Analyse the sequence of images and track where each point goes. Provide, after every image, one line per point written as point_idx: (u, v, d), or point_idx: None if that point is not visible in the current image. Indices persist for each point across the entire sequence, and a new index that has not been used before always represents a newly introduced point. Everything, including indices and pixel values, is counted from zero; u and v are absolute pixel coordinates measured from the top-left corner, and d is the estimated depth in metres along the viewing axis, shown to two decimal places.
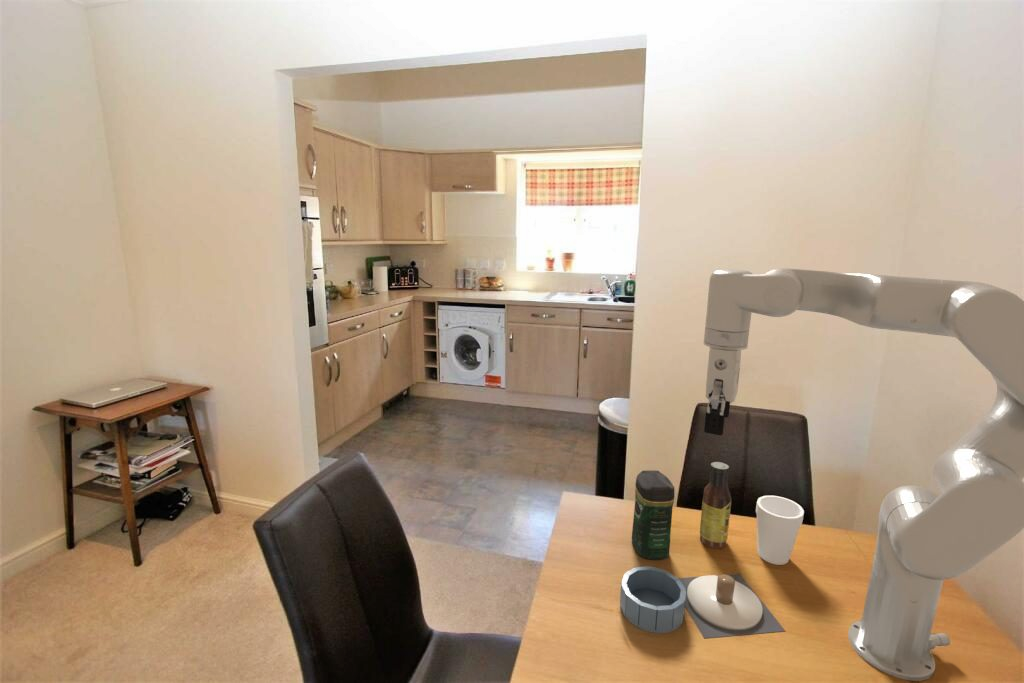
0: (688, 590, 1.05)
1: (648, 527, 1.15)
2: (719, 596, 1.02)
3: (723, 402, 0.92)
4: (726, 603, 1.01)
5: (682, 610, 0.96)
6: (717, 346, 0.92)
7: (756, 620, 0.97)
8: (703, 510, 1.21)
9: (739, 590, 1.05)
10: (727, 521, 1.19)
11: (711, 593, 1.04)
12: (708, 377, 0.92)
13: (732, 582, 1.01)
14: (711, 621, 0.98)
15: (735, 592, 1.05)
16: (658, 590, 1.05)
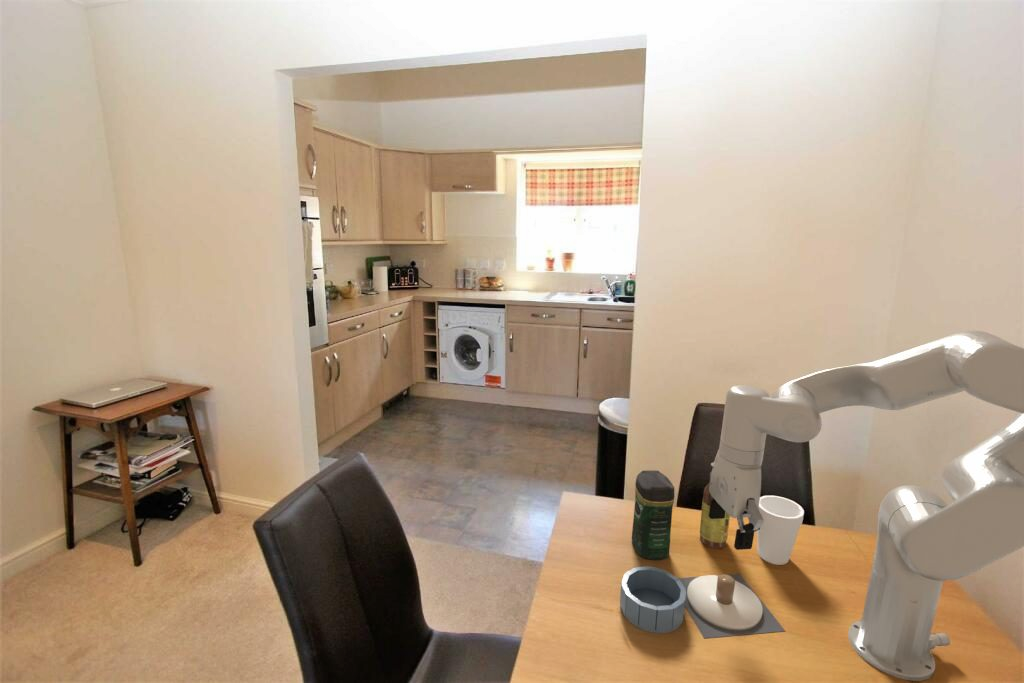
0: (688, 590, 1.05)
1: (648, 527, 1.15)
2: (719, 596, 1.02)
3: None
4: (726, 603, 1.01)
5: (682, 610, 0.96)
6: None
7: (756, 620, 0.97)
8: (703, 510, 1.21)
9: (739, 590, 1.05)
10: (727, 521, 1.19)
11: (711, 592, 1.04)
12: None
13: (732, 582, 1.01)
14: (711, 621, 0.98)
15: (735, 592, 1.05)
16: (658, 590, 1.05)
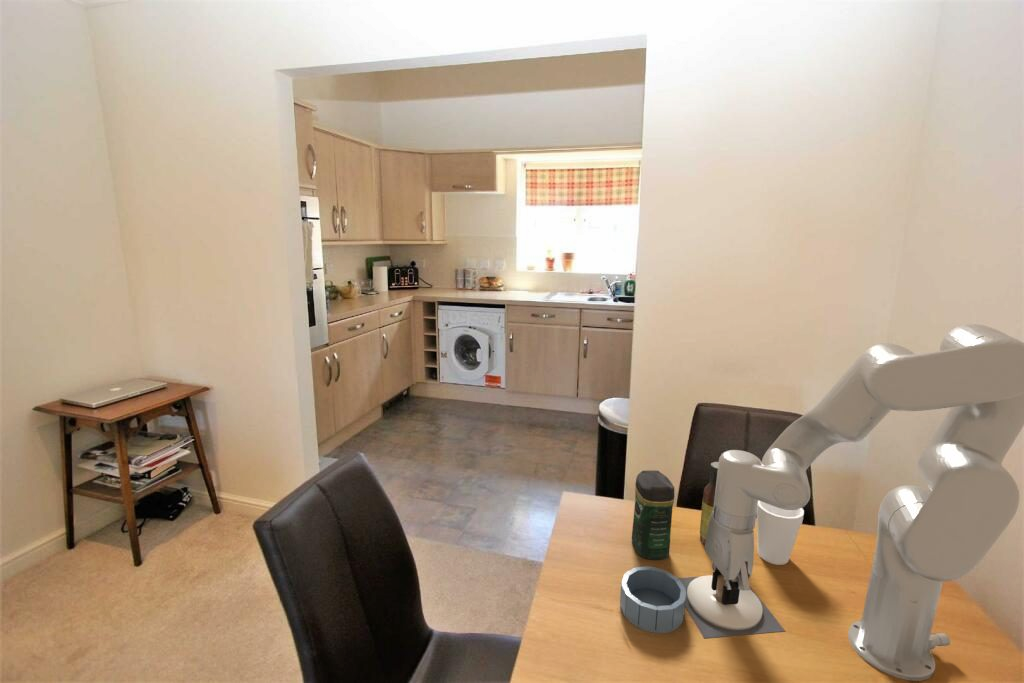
0: (688, 590, 1.05)
1: (648, 527, 1.15)
2: (719, 596, 1.02)
3: None
4: None
5: (682, 610, 0.96)
6: None
7: (756, 620, 0.97)
8: (703, 510, 1.21)
9: None
10: None
11: (711, 592, 1.04)
12: None
13: None
14: (711, 621, 0.97)
15: None
16: (658, 590, 1.05)
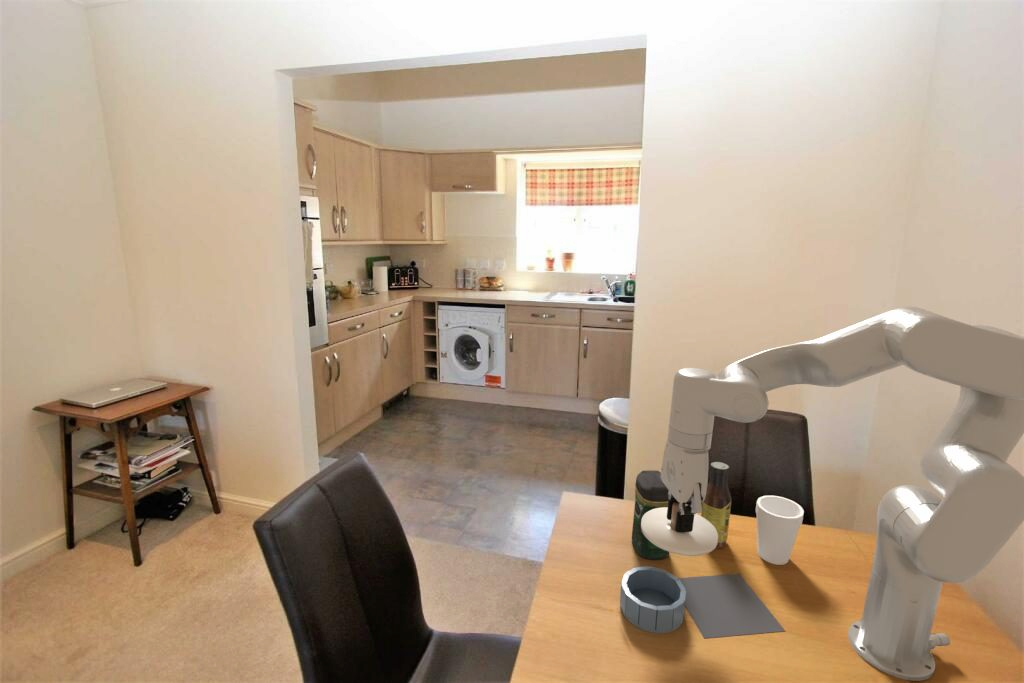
0: (642, 519, 1.00)
1: None
2: (673, 524, 0.97)
3: None
4: None
5: (682, 610, 0.96)
6: None
7: (710, 546, 0.92)
8: (703, 510, 1.21)
9: (696, 520, 1.00)
10: (727, 521, 1.19)
11: (666, 522, 0.99)
12: None
13: None
14: (662, 546, 0.93)
15: None
16: (658, 590, 1.05)
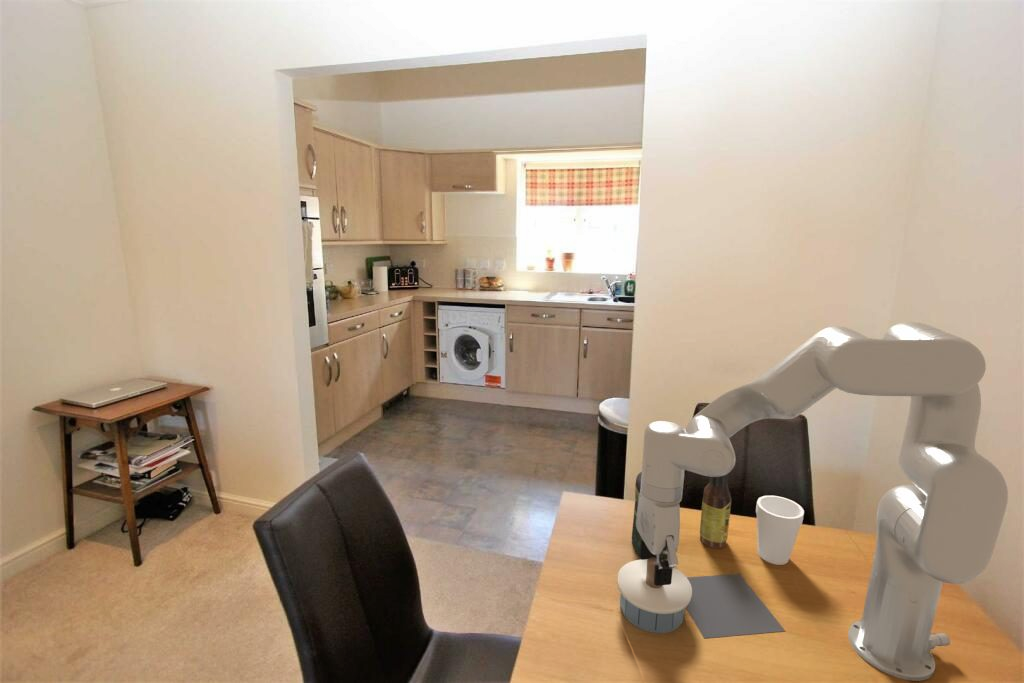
0: (619, 574, 1.02)
1: None
2: (648, 579, 0.99)
3: None
4: (655, 586, 0.98)
5: (682, 610, 0.96)
6: None
7: (683, 603, 0.94)
8: (703, 510, 1.21)
9: None
10: (727, 521, 1.19)
11: (642, 576, 1.01)
12: None
13: None
14: (637, 604, 0.95)
15: None
16: None
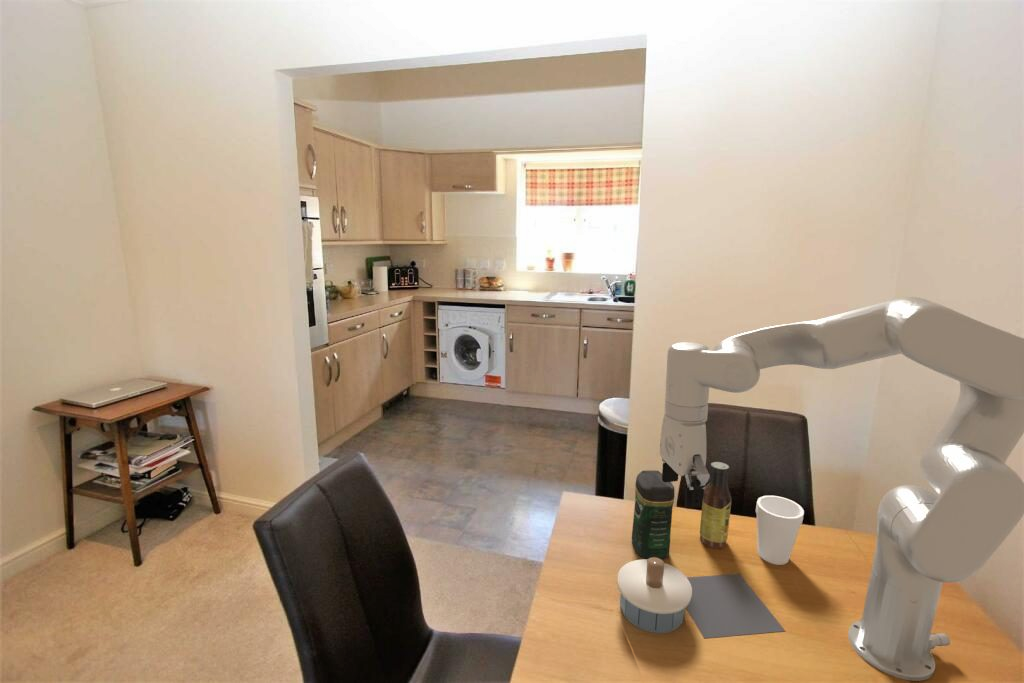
0: (619, 574, 1.02)
1: (648, 527, 1.15)
2: (648, 579, 0.99)
3: None
4: (655, 586, 0.98)
5: (682, 610, 0.96)
6: None
7: (683, 603, 0.94)
8: (703, 510, 1.21)
9: (671, 574, 1.02)
10: (727, 521, 1.19)
11: (642, 576, 1.01)
12: None
13: (661, 565, 0.98)
14: (637, 604, 0.95)
15: (666, 575, 1.02)
16: None
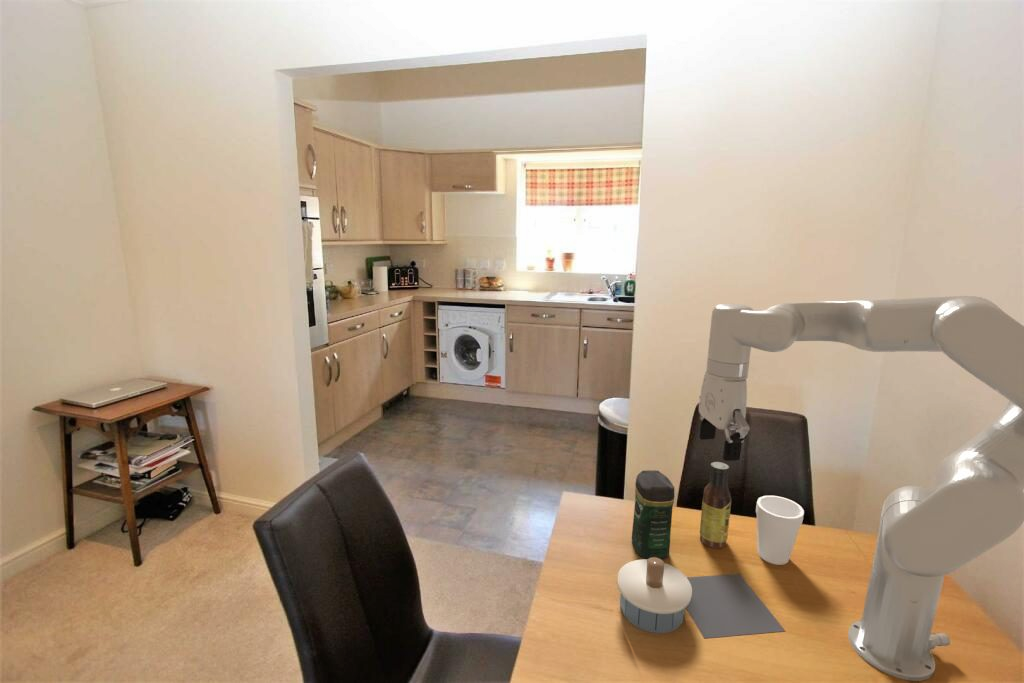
0: (619, 574, 1.02)
1: (648, 527, 1.15)
2: (648, 579, 0.99)
3: None
4: (655, 586, 0.98)
5: (682, 610, 0.96)
6: None
7: (683, 603, 0.94)
8: (703, 510, 1.21)
9: (671, 574, 1.02)
10: (727, 521, 1.19)
11: (642, 576, 1.01)
12: None
13: (661, 565, 0.98)
14: (637, 604, 0.95)
15: (666, 575, 1.02)
16: None
